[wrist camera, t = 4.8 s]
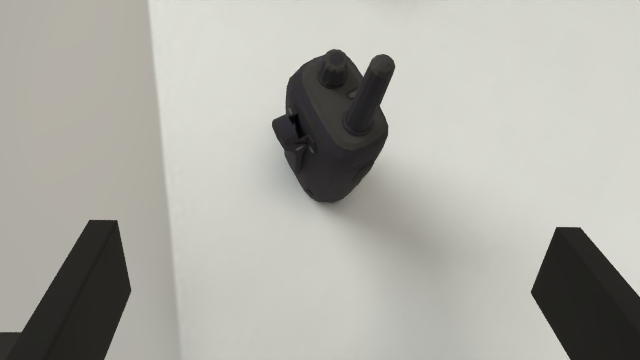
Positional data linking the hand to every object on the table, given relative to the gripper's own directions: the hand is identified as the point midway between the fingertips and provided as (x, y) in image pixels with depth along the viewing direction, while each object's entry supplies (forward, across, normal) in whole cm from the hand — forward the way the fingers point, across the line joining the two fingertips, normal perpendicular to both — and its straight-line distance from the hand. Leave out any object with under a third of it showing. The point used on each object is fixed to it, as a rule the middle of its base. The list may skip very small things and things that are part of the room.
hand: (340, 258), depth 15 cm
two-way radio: (+14, 0, -5) cm, 15 cm away
